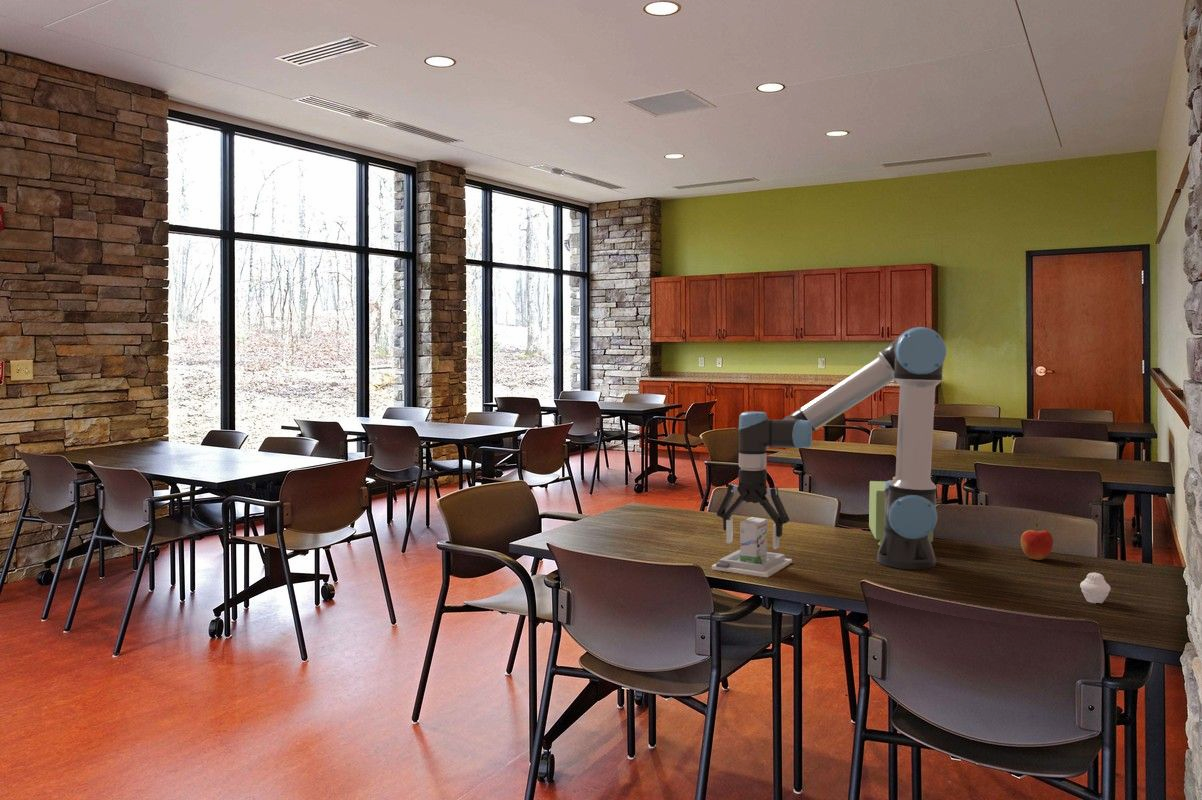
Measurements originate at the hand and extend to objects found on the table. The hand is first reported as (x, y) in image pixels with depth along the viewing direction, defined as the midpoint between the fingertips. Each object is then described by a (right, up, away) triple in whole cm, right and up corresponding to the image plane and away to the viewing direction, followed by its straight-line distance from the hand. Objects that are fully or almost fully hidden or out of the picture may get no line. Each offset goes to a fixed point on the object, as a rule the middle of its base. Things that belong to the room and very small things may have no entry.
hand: (752, 545), depth 234 cm
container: (+50, -4, +28) cm, 58 cm away
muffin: (+74, -8, -34) cm, 82 cm away
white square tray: (0, -6, 0) cm, 6 cm away
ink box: (0, -5, 0) cm, 5 cm away
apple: (+81, -5, +5) cm, 81 cm away
